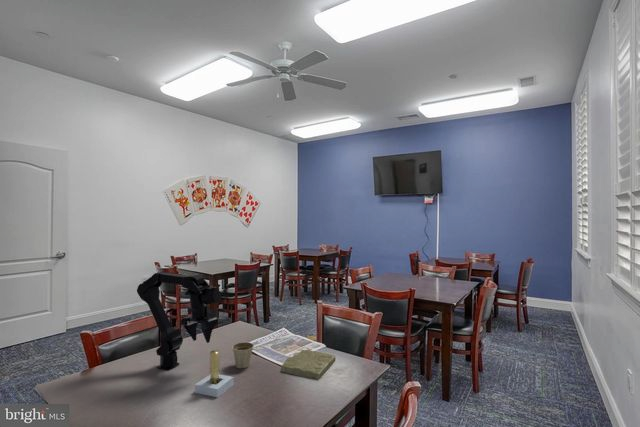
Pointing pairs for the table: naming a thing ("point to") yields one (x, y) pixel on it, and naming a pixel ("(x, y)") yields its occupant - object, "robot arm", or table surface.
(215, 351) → the pin
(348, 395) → the table surface
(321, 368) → the decorative tile
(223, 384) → the socket block
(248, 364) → the flower pot
